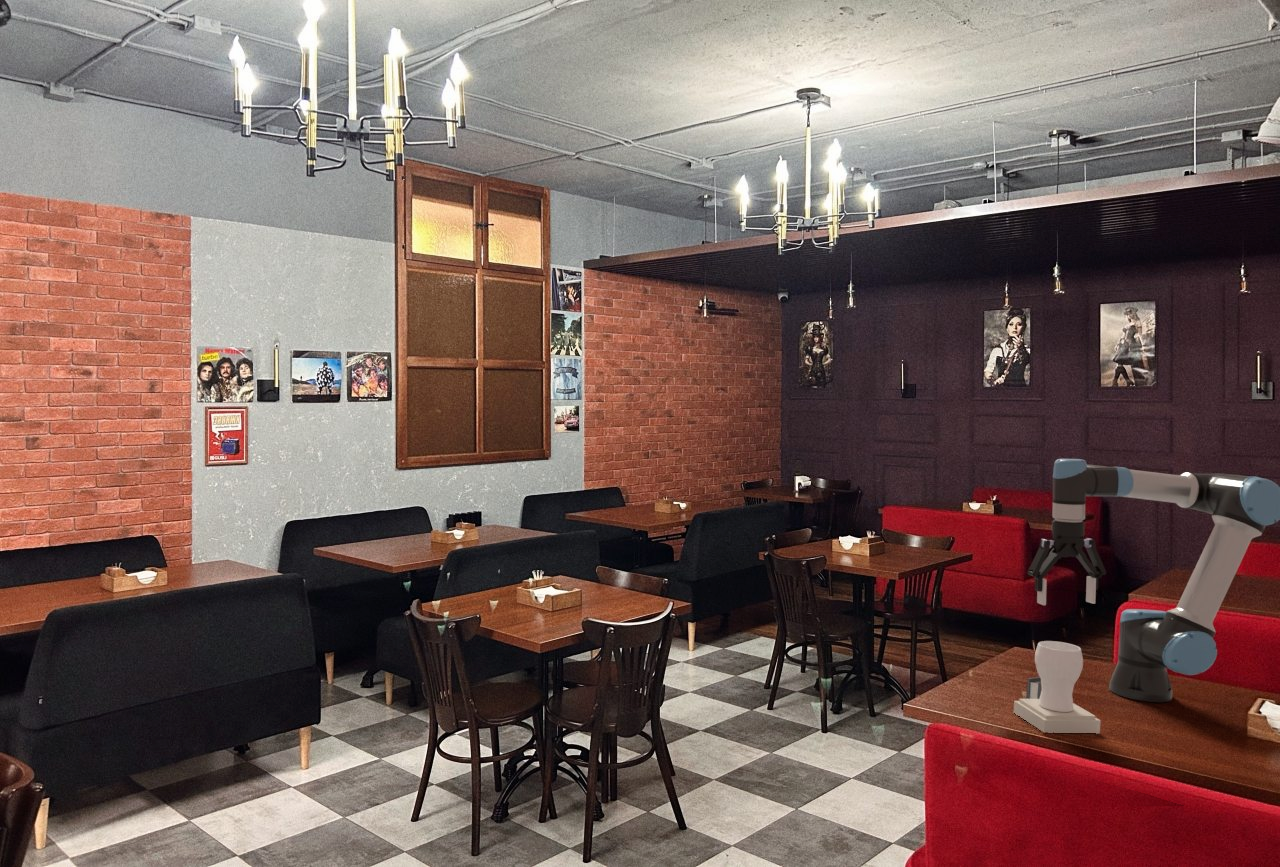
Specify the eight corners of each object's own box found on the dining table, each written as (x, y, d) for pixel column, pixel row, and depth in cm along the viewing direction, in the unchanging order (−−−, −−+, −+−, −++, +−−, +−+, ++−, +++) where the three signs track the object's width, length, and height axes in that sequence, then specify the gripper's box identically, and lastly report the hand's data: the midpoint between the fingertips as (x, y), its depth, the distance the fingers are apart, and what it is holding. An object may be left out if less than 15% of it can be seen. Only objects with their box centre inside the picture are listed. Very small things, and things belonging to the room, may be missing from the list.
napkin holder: (1052, 701, 243) (1054, 674, 243) (1065, 705, 239) (1067, 679, 239) (1025, 705, 238) (1027, 678, 238) (1038, 710, 235) (1040, 683, 235)
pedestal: (1066, 713, 233) (1067, 697, 233) (1099, 733, 219) (1100, 717, 219) (1013, 713, 232) (1014, 697, 231) (1043, 733, 218) (1044, 717, 217)
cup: (1085, 716, 219) (1089, 653, 218) (1037, 711, 221) (1041, 649, 220) (1073, 702, 229) (1077, 642, 229) (1028, 698, 231) (1031, 638, 231)
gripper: (1103, 517, 239) (1101, 598, 240) (1014, 518, 235) (1012, 601, 236) (1123, 521, 232) (1120, 605, 233) (1031, 522, 228) (1029, 608, 229)
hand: (1066, 603), depth 235 cm, fingers open, 13 cm apart
